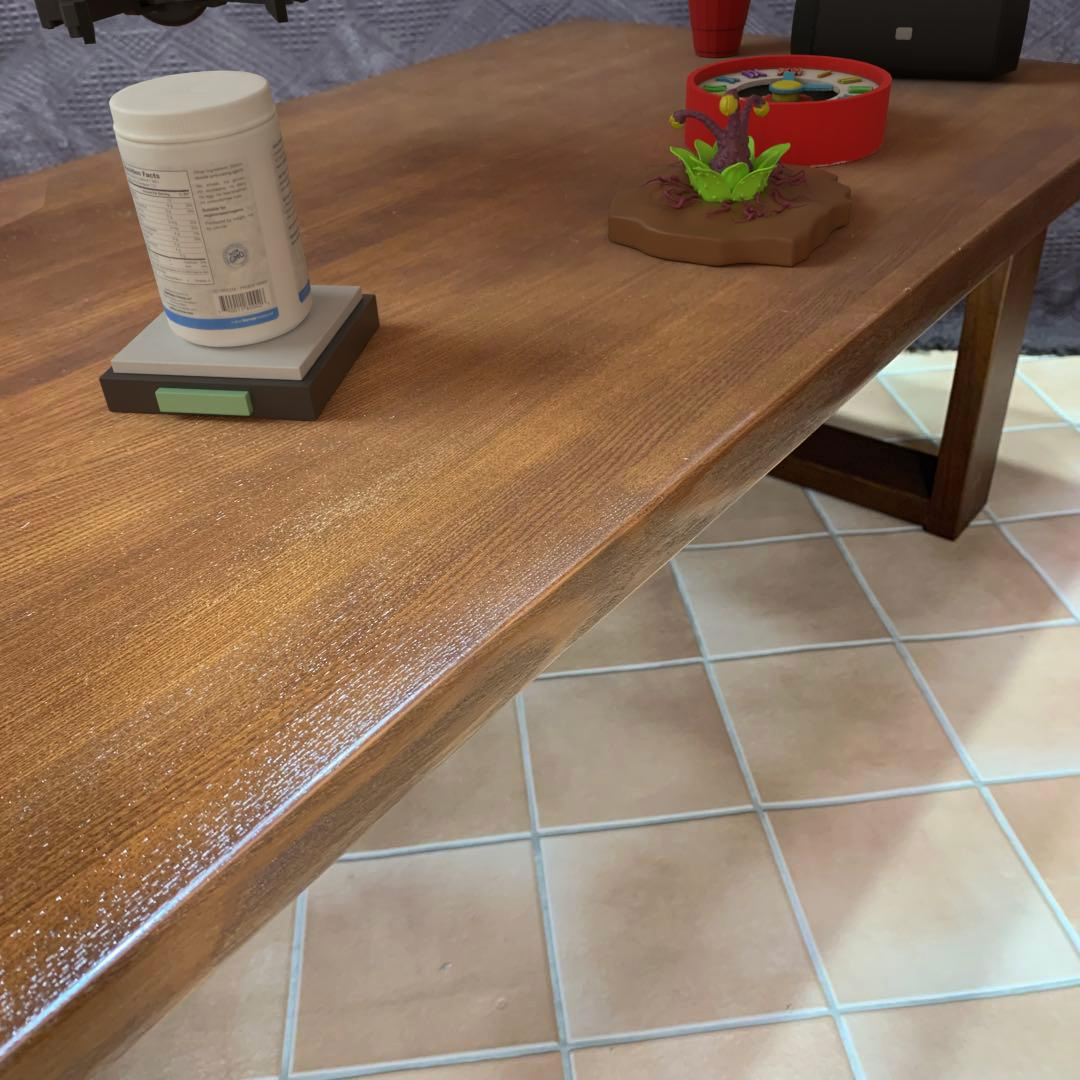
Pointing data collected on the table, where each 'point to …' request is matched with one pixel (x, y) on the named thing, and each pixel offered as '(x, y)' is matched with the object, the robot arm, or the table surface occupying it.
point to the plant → (728, 199)
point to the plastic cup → (717, 26)
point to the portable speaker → (915, 35)
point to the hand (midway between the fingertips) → (184, 12)
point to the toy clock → (797, 105)
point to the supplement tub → (215, 204)
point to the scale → (246, 365)
